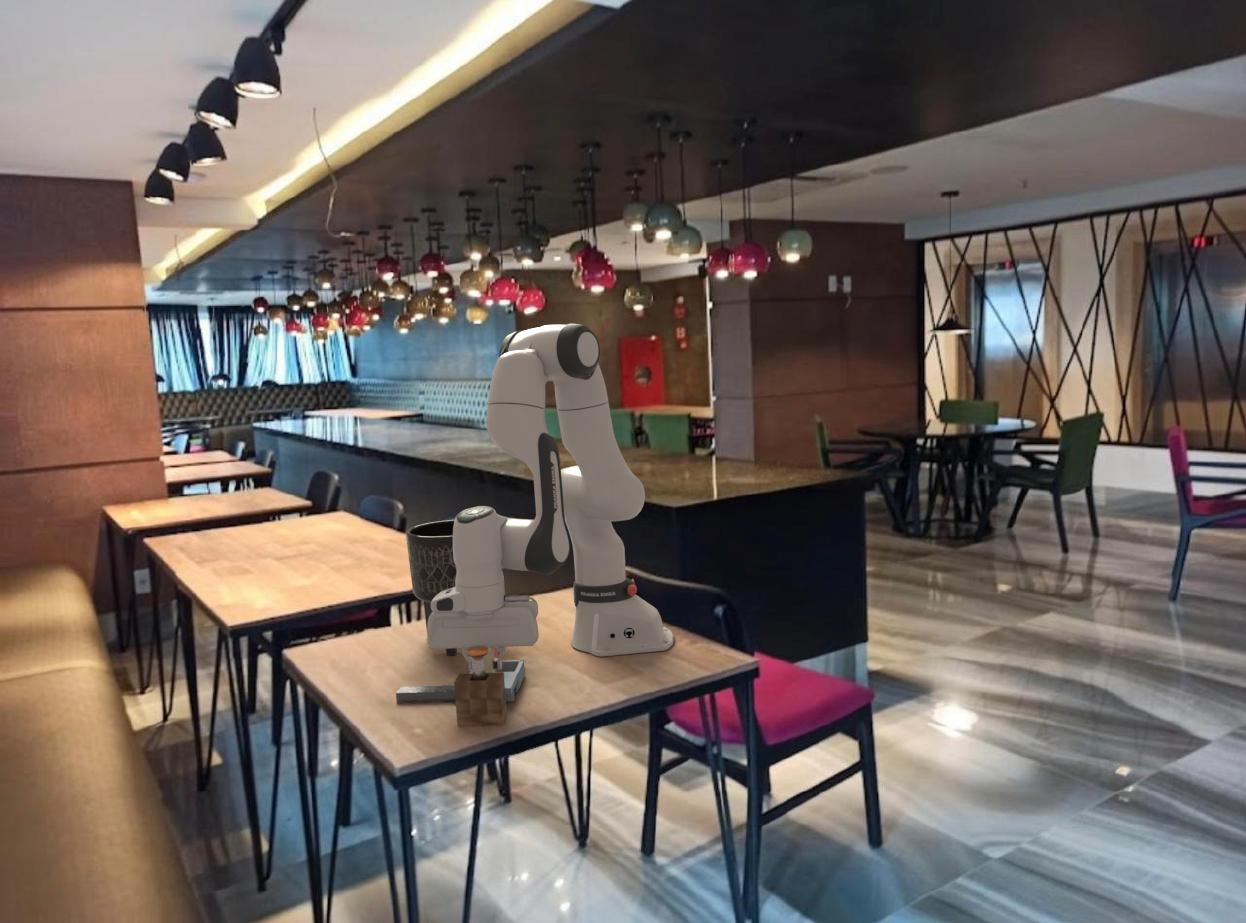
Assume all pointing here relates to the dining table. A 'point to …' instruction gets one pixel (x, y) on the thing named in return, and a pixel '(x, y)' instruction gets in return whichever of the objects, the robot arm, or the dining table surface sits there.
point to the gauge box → (480, 700)
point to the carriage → (507, 673)
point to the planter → (431, 562)
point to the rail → (426, 694)
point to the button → (478, 661)
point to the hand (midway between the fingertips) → (485, 669)
